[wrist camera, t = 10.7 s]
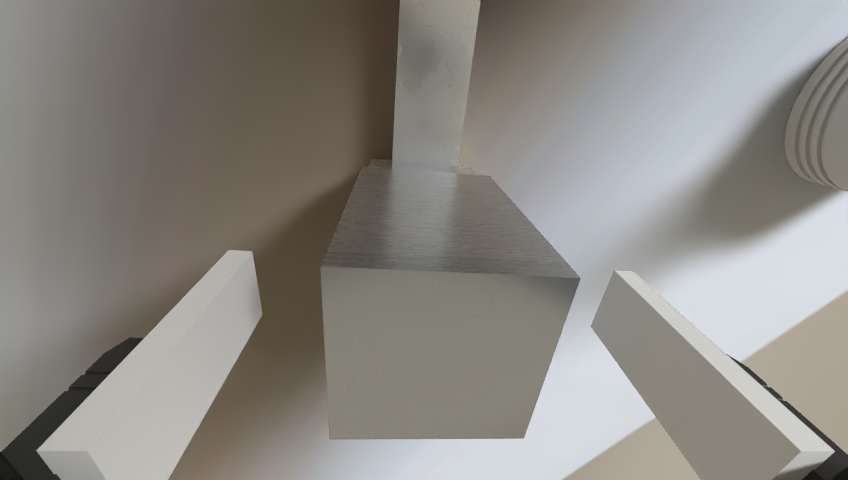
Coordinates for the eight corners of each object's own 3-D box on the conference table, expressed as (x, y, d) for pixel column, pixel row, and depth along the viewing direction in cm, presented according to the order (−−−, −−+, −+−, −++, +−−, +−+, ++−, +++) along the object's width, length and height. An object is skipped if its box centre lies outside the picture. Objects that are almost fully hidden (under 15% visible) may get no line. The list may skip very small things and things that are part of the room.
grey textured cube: (362, 166, 17) (319, 266, 8) (489, 175, 17) (580, 278, 9) (361, 276, 20) (329, 439, 11) (470, 281, 20) (523, 438, 11)
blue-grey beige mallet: (381, -355, 12) (357, -942, 5) (545, -318, 12) (722, -796, 6) (369, 248, 22) (356, 323, 15) (457, 252, 23) (481, 326, 16)
